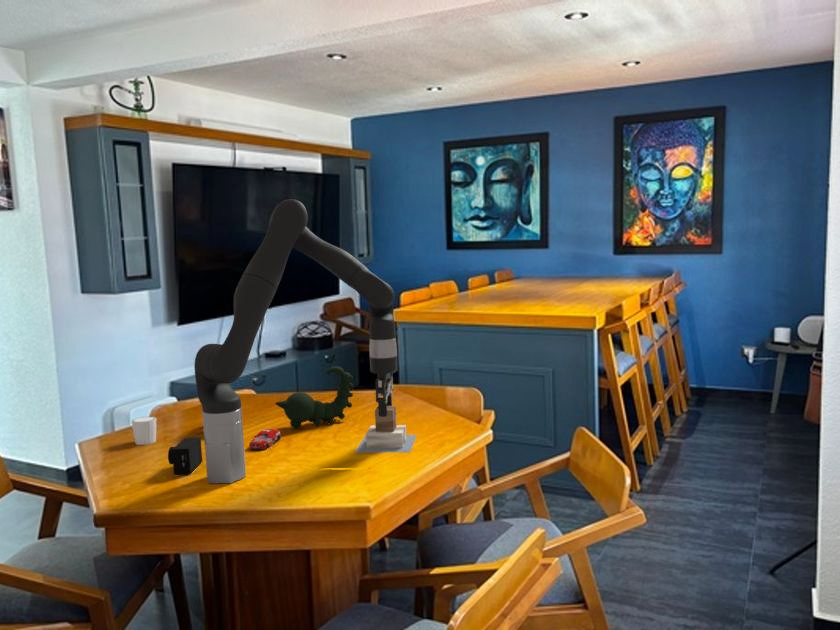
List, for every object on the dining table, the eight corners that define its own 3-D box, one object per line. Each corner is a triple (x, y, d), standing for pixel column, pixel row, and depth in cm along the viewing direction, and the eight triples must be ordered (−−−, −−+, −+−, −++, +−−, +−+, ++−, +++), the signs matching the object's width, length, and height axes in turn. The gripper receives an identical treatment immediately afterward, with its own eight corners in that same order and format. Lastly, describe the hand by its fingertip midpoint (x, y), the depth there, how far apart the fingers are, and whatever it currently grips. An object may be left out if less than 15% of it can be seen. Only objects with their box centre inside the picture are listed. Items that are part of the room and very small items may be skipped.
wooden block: (402, 447, 189) (402, 433, 188) (366, 447, 190) (365, 433, 189) (406, 438, 197) (405, 425, 196) (371, 439, 198) (371, 425, 197)
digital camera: (182, 462, 185) (180, 437, 184) (202, 462, 185) (200, 436, 184) (169, 476, 175) (166, 449, 174) (190, 475, 175) (188, 448, 174)
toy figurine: (343, 420, 228) (269, 426, 215) (345, 363, 227) (271, 366, 214) (355, 427, 220) (279, 433, 207) (357, 367, 219) (281, 370, 206)
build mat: (410, 454, 185) (410, 452, 185) (354, 454, 186) (354, 452, 186) (416, 436, 200) (416, 434, 200) (365, 437, 202) (365, 435, 202)
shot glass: (162, 441, 206) (160, 418, 205) (139, 447, 201) (137, 423, 200) (151, 437, 210) (149, 414, 210) (129, 442, 206) (127, 419, 205)
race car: (264, 452, 192) (263, 438, 192) (246, 451, 193) (245, 438, 193) (284, 438, 205) (283, 425, 204) (267, 438, 206) (266, 424, 206)
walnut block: (393, 431, 190) (392, 410, 190) (375, 431, 191) (374, 410, 190) (396, 426, 195) (395, 405, 194) (379, 426, 196) (378, 405, 195)
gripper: (392, 358, 183) (395, 419, 185) (400, 350, 197) (402, 406, 199) (364, 359, 184) (367, 419, 185) (374, 350, 198) (376, 406, 200)
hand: (385, 412), depth 192 cm, fingers open, 8 cm apart
